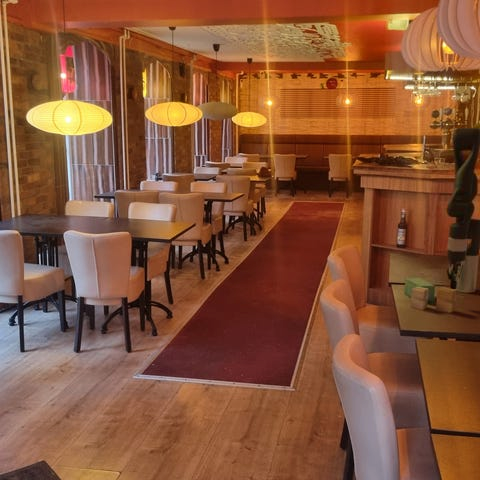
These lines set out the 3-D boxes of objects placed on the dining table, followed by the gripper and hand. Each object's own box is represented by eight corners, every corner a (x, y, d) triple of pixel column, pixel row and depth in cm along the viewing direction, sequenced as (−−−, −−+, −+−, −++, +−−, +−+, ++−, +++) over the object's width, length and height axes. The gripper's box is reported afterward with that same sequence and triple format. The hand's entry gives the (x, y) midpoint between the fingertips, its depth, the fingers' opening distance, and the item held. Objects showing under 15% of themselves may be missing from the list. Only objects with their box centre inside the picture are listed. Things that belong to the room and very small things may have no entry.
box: (418, 302, 260) (420, 286, 258) (403, 293, 273) (404, 277, 271) (434, 302, 262) (435, 285, 260) (418, 293, 274) (419, 277, 273)
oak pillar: (440, 307, 254) (441, 287, 252) (454, 310, 250) (456, 289, 248) (435, 310, 250) (437, 289, 248) (450, 313, 247) (452, 292, 245)
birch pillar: (415, 304, 257) (417, 286, 256) (427, 307, 254) (428, 288, 253) (410, 307, 254) (412, 289, 252) (422, 310, 250) (423, 291, 249)
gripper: (453, 244, 258) (450, 284, 262) (442, 249, 248) (438, 290, 252) (471, 247, 253) (467, 287, 257) (460, 252, 243) (456, 294, 247)
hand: (453, 288), depth 254 cm, fingers closed
